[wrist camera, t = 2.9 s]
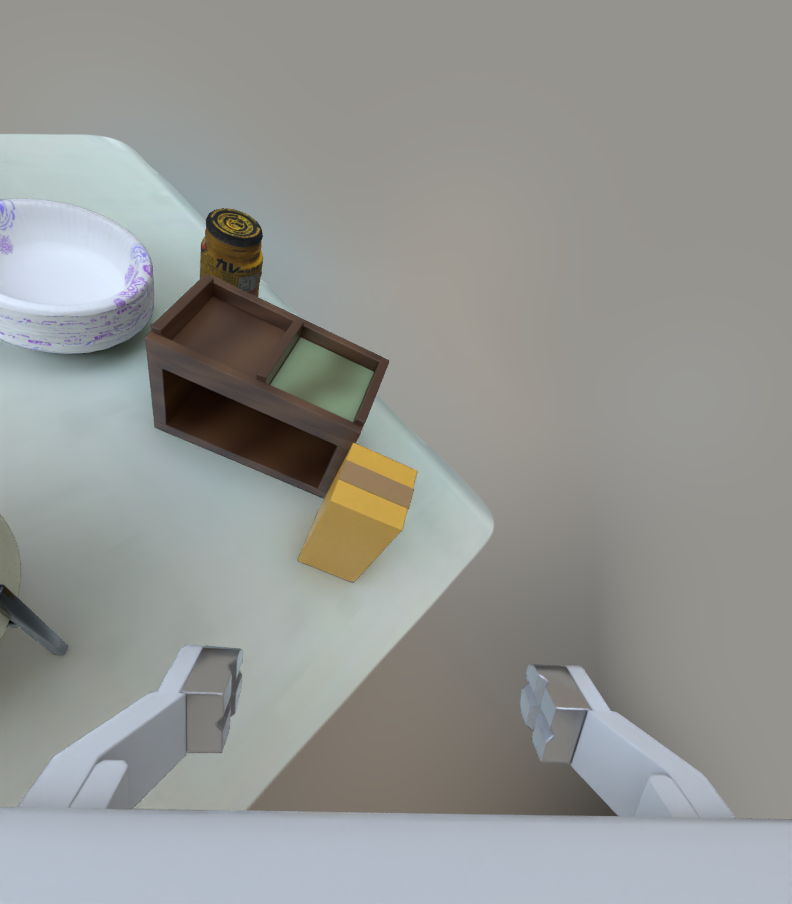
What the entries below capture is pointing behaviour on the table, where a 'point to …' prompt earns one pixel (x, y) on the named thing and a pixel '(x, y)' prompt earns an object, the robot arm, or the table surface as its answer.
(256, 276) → the condiment
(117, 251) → the paper bowls
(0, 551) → the planter
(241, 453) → the rack
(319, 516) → the package
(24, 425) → the table surface
